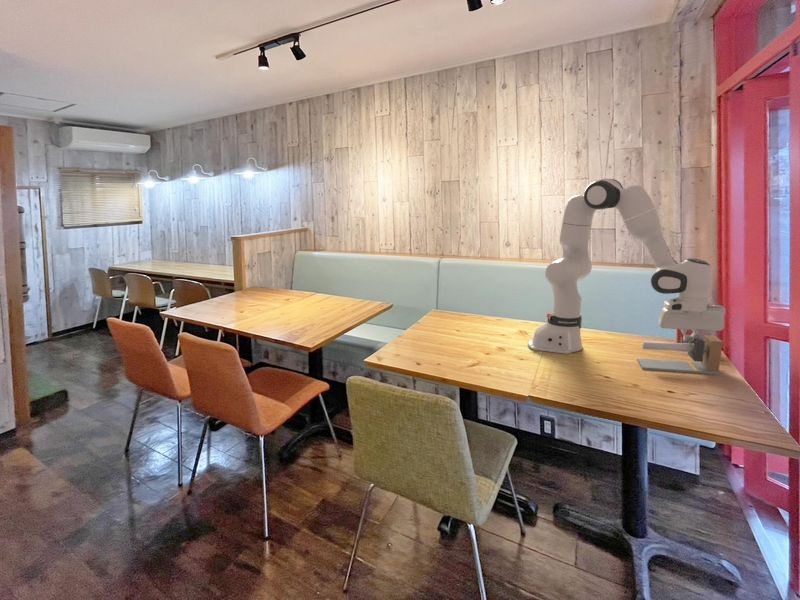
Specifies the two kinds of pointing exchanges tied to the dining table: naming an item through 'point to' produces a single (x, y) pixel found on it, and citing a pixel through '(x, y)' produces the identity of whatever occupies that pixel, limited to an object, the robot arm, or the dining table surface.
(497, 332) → the dining table surface
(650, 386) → the dining table surface
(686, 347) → the pipe stand
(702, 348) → the grey rectangular frame
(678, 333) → the soda can
